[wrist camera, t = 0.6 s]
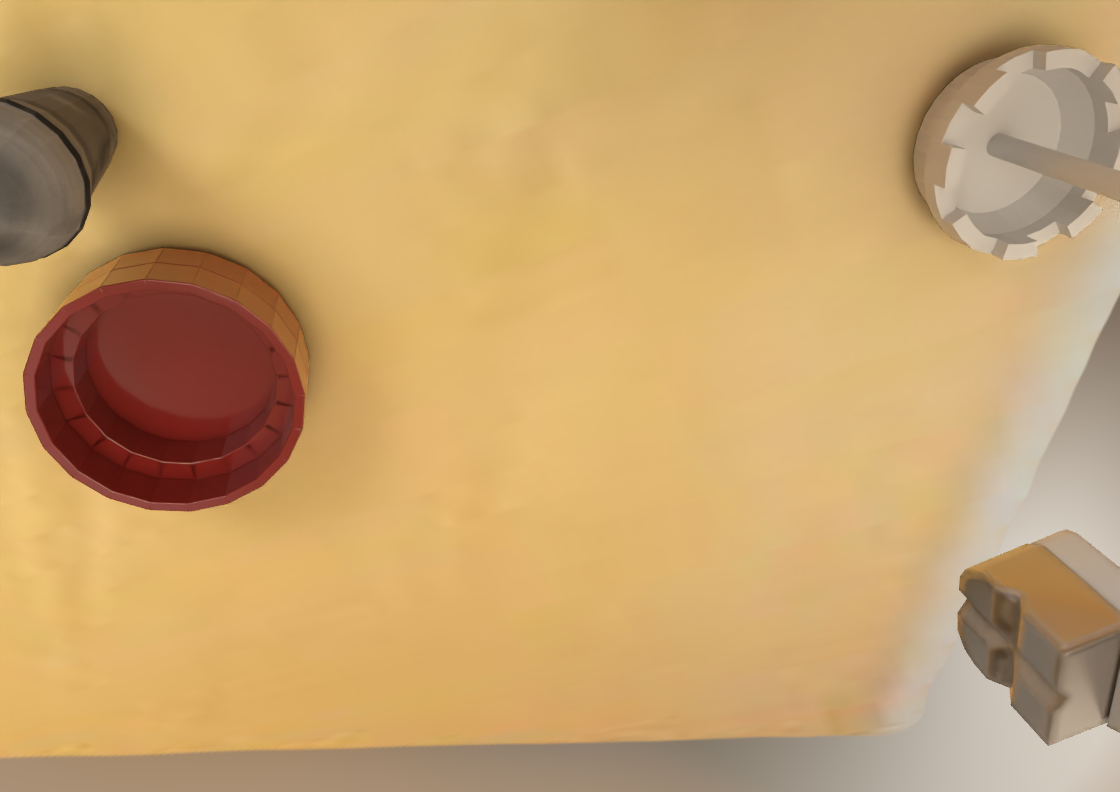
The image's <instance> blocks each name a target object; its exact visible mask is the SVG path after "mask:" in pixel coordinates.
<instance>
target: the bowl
mask: <svg viewBox="0 0 1120 792" xmlns="http://www.w3.org/2000/svg"><path fill="white" fill-rule="evenodd" d="M308 371H309V354H308V350H307V347H306V343H305V340H304V336H303V333H302V330H301V326H300V324H299V322H298V321H297V319H296V318H295V316H294V315H293V313H292V312H291V311H290V309H289V308H288V306H287V305H286V303H285V302H284V301H283V299H282V298H281V296H280V295H279V294H278V292H276V291H275V290H274V289H273V288H271V287H270V286H269V285H268V284H266V283H265V282H264V281H262V280H261V279H260V278H259V277H257V276H256V275H255V274H253V273H252V272H251V271H250V270H248V269H246V268H245V267H242V266H240V265H237V264H235V263H232V262H230V261H227V260H225V259H222V258H220V257H217V256H215V255H212V254H210V253H206V252H198V251H189V250H180V249H171V248H159V249H153V250H148V251H142V252H136V253H131V254H125V255H122V256H120V257H118V258H116V259H114V260H112V261H110V262H109V263H107V264H105V265H103V266H101V267H99V268H97V269H96V270H94V271H92V272H90V273H88V274H87V275H86V276H85V277H84V279H83V280H82V281H81V282H80V283H79V284H78V285H77V287H76V288H75V289H74V290H73V291H72V292H71V293H70V295H69V296H68V297H67V298H66V299H65V300H64V301H63V303H62V304H61V305H60V306H59V308H58V309H57V310H56V312H55V313H54V314H53V315H52V317H51V318H50V319H49V320H48V322H47V323H46V324H45V325H44V327H43V328H42V329H41V331H40V332H39V333H38V334H37V336H36V337H35V339H34V342H33V345H32V348H31V351H30V354H29V357H28V360H27V363H26V366H25V369H24V372H23V381H24V394H25V406H26V411H27V412H26V413H27V415H28V417H29V419H30V421H31V423H32V425H33V427H34V429H35V431H36V434H37V436H38V438H39V440H40V442H41V444H42V446H43V447H44V449H45V450H46V451H47V452H48V453H49V454H50V455H51V456H52V457H53V458H54V459H55V460H56V461H57V462H58V463H59V464H60V465H61V466H62V467H63V468H64V469H65V470H66V472H67V473H68V474H69V475H70V476H72V477H73V478H75V479H76V480H78V481H80V482H81V483H83V484H85V485H86V486H88V487H90V488H92V489H93V490H95V491H97V492H98V493H100V494H102V495H104V496H105V497H107V498H110V499H113V500H116V501H120V502H123V503H127V504H130V505H134V506H137V507H141V508H144V509H149V510H166V511H195V510H200V509H205V508H210V507H214V506H219V505H224V504H228V503H231V502H233V501H234V500H236V499H238V498H240V497H242V496H244V495H246V494H248V493H250V492H252V491H254V490H256V489H258V488H259V487H261V486H262V485H264V484H265V483H266V482H267V481H268V480H269V479H270V478H271V477H272V476H273V475H274V474H275V473H276V472H277V471H278V470H279V469H280V468H281V467H282V466H283V465H284V464H285V463H286V462H287V461H288V460H289V458H290V455H291V453H292V451H293V449H294V447H295V445H296V443H297V441H298V438H299V436H300V434H301V432H302V429H303V423H304V414H305V404H306V395H307V385H308Z"/></svg>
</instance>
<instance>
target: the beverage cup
mask: <svg viewBox="0 0 1120 792" xmlns="http://www.w3.org/2000/svg"><path fill="white" fill-rule="evenodd" d="M116 145H117V128H116V126H115V123H114V120H113V117H112V116H111V114H110V113H109V111H108V110H107V109H106V107H105V106H104V105H103V104H102V103H101V102H100V101H98V100H97V99H96V98H95V97H94V96H92V95H90V94H88V93H86V92H84V91H82V90H79V89H75V88H69V87H58V88H56V87H53V88H46V89H39V90H34V91H29V92H25V93H20V94H15V95H10V96H6V97H1V98H0V266H9V265H15V264H21V263H27V262H32V261H36V260H38V259H40V258H45V257H47V256H49V255H51V254H53V253H55V252H57V251H59V250H61V249H63V248H64V247H66V246H68V245H69V244H70V242H71V241H72V240H73V239H74V238H75V237H76V236H77V235H78V233H79V232H80V231H81V230H82V229H83V227H84V224H85V221H86V219H87V216H88V213H89V210H90V207H91V195H92V193H93V191H94V190H95V188H96V186H97V184H98V183H99V181H100V179H101V177H102V176H103V174H104V172H105V171H106V169H107V167H108V165H109V164H110V161H111V158H112V156H113V153H114V151H115V148H116Z"/></svg>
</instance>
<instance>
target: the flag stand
mask: <svg viewBox="0 0 1120 792" xmlns="http://www.w3.org/2000/svg"><path fill="white" fill-rule="evenodd" d="M1084 50H1085V49H1078V48H1072V47H1066V46H1060V45H1045V44H1038V45H1033V46H1027V47H1022V48H1019V49H1016V50H1014V51H1011V52H1009V53H1006V54H1004V55H1001V56H1000V57H997V58H992V59H988V60H986V61H983V62H981V63H978V64H976V65H974V66H972V67H971V68H969V69H967V70H966V71H964V72H963V73H961V74H959V75H958V76H957V77H956V78H955V79H954V80H953V81H952V82H950V83H949V84H948V85H947V86H946V87H945V88H944V89H943V91H942V92H941V93H940V94H939V95H938V97H937V98H936V99H935V100H934V102H933V104H932V105H931V107H930V109H929V110H928V112H927V113H926V115H925V117H924V120H923V122H922V124H921V127H920V129H919V132H918V136H917V140H916V144H915V148H914V162H913V166H914V174H915V180H916V183H917V186H918V189H919V192H920V194H921V195H922V197H923V198H924V200H925V202H926V203H927V204H928V205H929V207H930V210H931V213H932V215H933V217H934V218H935V220H936V221H937V223H938V225H939V226H940V228H941V229H942V230H944V231H945V232H946V233H947V234H948V235H949V236H950V237H951V238H953V239H954V240H956V241H958V242H960V243H962V244H964V245H966V246H968V247H970V248H972V249H974V250H976V251H980V252H984V253H988V254H992V255H994V256H996V257H998V258H1000V259H1002V260H1021V259H1025V258H1030V257H1035V256H1037V248H1038V245H1041V244H1043V243H1045V242H1047V241H1048V240H1050V239H1052V238H1053V237H1055V236H1057V235H1058V234H1060V233H1061V234H1063V235H1065V236H1068V237H1070V238H1073V237H1075V236H1076V235H1077V234H1078V233H1080V232H1081V231H1082V230H1083V229H1084V228H1086V227H1087V226H1088V225H1089V224H1090V223H1091V222H1092V221H1093V220H1094V219H1095V218H1096V217H1097V216H1098V214H1099V213H1100V212H1101V211H1102V210H1103V209H1102V208H1101V207H1100V206H1099V205H1097V204H1096V203H1095V202H1094V199H1095V198H1096V196H1097V195H1098V194H1100V195H1103V196H1105V197H1108V198H1111V199H1114V200H1117V201H1119V202H1120V69H1119V68H1118V67H1117V66H1116V65H1115V64H1110V63H1104V62H1101V61H1099V60H1098V59H1096V58H1095V57H1093V56H1092V55H1090V54H1089V53H1087V52H1084Z"/></svg>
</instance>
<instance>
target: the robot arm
mask: <svg viewBox="0 0 1120 792" xmlns="http://www.w3.org/2000/svg"><path fill="white" fill-rule="evenodd" d="M959 590H960V591H961V592H962V593H963V594H964V595H965V597H966V598H967V600H966V601H965V603H964V604H963V606H962V607H961V609H960V610H959V612H958V632H959V635H960V638H961V640H962V643H963V646H964V648H965V650H966V652H967V653H968V655H969V656H970V658H971V659H972V661H973V663H974V664H975V665H976V666H977V668H978V669H979V670H980V671H981V672H982V673H983V674H984V676H985V677H986V678H987V679H989V680H992V681H994V682H997V683H999V684H1002V685H1004V686H1007V687H1009V688H1010V698H1011V706H1012V707H1013V708H1014V709H1015V710H1016V711H1017V712H1018V713H1019V714H1020V715H1021V717H1022V718H1023V719H1024V720H1025V721H1026V722H1027V723H1028V724H1029V725H1030V727H1032V729H1033V730H1034V731H1035V732H1036V733H1037V734H1038V735H1039V736H1040V738H1041V739H1042V740H1043V741H1044V742H1045V743H1046V744H1047V745H1048V746H1049V745H1052V744H1054V743H1057V742H1059V741H1062V740H1064V739H1067V738H1069V737H1072V736H1074V735H1077V734H1079V733H1082V732H1084V731H1087V730H1089V729H1092V728H1094V727H1097V726H1099V725H1102V724H1104V723H1107V722H1108V724H1107V727H1110V728H1111V729H1113V730H1116V731H1118V732H1120V567H1119V566H1117V565H1116V564H1115V563H1114V562H1112V561H1111V560H1110V559H1109V558H1107V557H1106V556H1105V555H1104V554H1102V553H1101V552H1100V551H1099V550H1097V549H1096V548H1095V547H1094V546H1092V545H1091V544H1090V543H1089V542H1087V541H1086V540H1085V539H1084V538H1082V537H1081V536H1080V535H1078V534H1077V533H1075V532H1072V531H1069V530H1063V531H1060V532H1057V533H1054V534H1052V535H1050V536H1047V537H1045V538H1043V539H1041V540H1038V541H1036V542H1033V543H1031V544H1025V545H1022V546H1020V547H1018V548H1015V549H1013V550H1011V551H1008V552H1006V553H1003V554H1001V555H999V556H996V557H994V558H991V559H989V560H987V561H984V562H982V563H980V564H977V565H975V566H972V567H970V568H968V569H966V570H965V571H964V572H963V573H962V575H961V576H960V585H959Z"/></svg>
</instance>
